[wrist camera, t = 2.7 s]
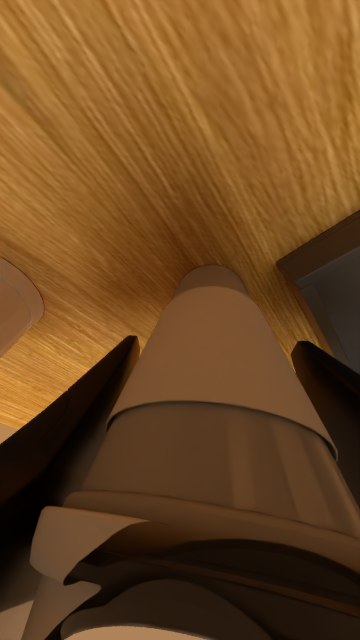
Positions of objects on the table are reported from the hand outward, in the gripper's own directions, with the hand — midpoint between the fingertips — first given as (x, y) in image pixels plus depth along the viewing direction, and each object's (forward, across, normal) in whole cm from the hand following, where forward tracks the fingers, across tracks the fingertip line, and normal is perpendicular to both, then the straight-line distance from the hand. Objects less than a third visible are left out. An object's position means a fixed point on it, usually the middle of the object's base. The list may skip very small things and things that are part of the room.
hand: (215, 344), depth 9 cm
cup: (+5, 0, 0) cm, 5 cm away
